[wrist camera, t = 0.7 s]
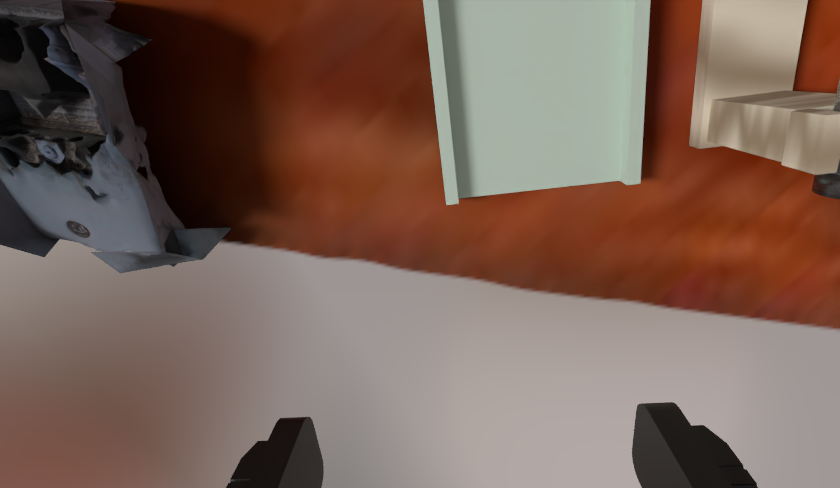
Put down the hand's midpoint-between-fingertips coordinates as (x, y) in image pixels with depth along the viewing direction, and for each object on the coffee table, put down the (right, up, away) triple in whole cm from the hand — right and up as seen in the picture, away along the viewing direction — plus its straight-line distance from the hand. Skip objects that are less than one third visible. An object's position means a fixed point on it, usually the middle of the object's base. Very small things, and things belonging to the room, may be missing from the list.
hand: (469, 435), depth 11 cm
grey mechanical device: (-27, +14, +26) cm, 40 cm away
